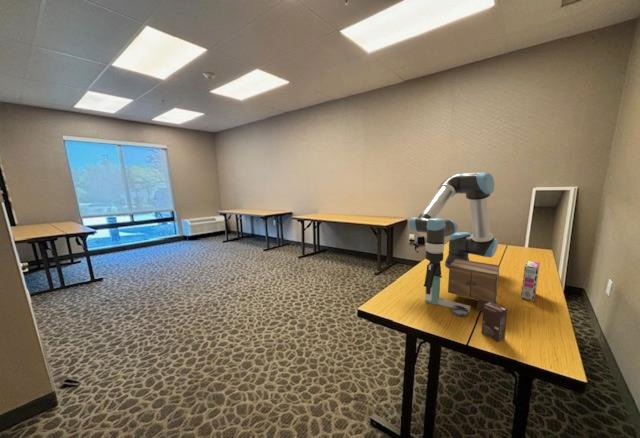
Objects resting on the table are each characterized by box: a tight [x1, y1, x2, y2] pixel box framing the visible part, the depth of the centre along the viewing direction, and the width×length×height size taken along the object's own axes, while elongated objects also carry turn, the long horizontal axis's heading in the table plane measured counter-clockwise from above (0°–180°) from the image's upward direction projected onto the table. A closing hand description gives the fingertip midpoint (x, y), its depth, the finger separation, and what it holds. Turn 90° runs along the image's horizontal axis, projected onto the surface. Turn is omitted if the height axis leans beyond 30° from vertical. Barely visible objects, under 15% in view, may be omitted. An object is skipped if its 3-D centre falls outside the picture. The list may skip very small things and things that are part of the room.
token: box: [451, 306, 469, 318], centre depth 105 cm, size 6×6×2 cm
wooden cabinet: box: [447, 259, 500, 313], centre depth 113 cm, size 15×18×18 cm
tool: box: [424, 276, 471, 313], centre depth 112 cm, size 5×18×12 cm, turn 51°
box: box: [481, 302, 509, 343], centre depth 88 cm, size 6×4×12 cm
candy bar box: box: [520, 260, 541, 302], centre depth 119 cm, size 11×5×16 cm, turn 135°
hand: (432, 294), depth 116 cm, fingers open, 12 cm apart
